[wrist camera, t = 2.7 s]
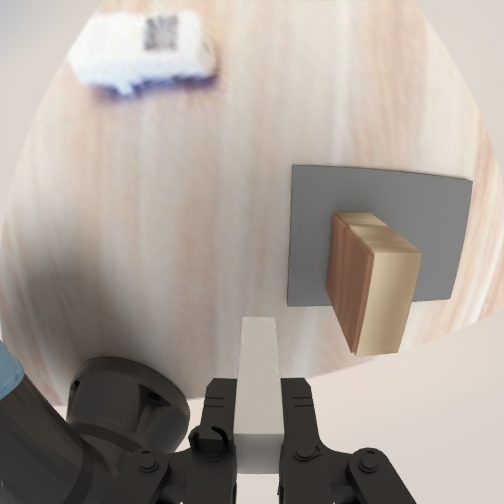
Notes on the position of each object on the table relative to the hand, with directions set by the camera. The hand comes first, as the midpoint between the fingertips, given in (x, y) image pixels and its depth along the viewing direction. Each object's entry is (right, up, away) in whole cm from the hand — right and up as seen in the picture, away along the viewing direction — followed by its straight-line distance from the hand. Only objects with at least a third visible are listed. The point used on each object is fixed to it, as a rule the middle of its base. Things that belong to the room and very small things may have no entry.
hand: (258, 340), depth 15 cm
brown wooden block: (+8, +4, +11) cm, 14 cm away
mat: (+11, +5, +11) cm, 17 cm away
